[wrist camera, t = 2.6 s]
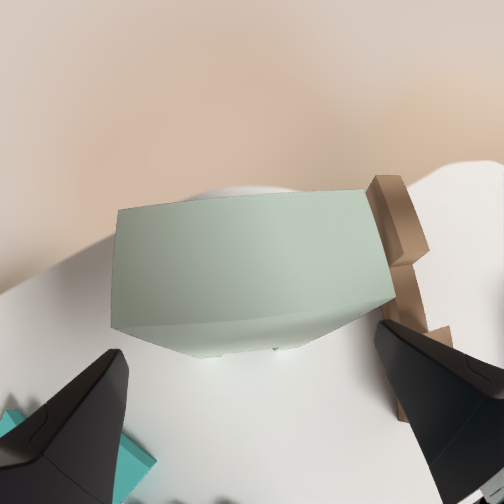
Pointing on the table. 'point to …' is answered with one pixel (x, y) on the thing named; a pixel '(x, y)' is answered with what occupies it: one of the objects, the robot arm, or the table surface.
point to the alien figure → (128, 462)
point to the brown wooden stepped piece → (402, 256)
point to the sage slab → (247, 270)
